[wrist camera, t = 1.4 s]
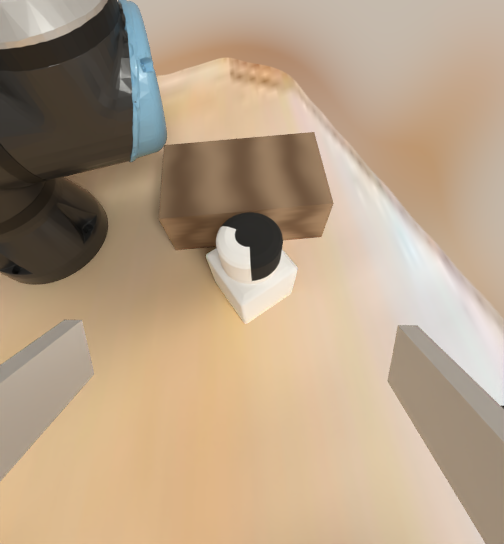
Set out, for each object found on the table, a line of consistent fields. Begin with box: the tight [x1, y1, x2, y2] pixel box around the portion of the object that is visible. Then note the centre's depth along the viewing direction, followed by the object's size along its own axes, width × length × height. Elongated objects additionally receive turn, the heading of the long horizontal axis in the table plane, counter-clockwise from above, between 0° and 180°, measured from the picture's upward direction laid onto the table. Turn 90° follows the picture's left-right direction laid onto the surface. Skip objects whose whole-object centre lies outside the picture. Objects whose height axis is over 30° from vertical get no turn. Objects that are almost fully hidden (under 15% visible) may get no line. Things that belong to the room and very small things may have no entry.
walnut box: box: [159, 132, 333, 250], centre depth 37 cm, size 20×12×7 cm, turn 95°
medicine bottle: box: [206, 212, 298, 324], centre depth 30 cm, size 7×7×12 cm
